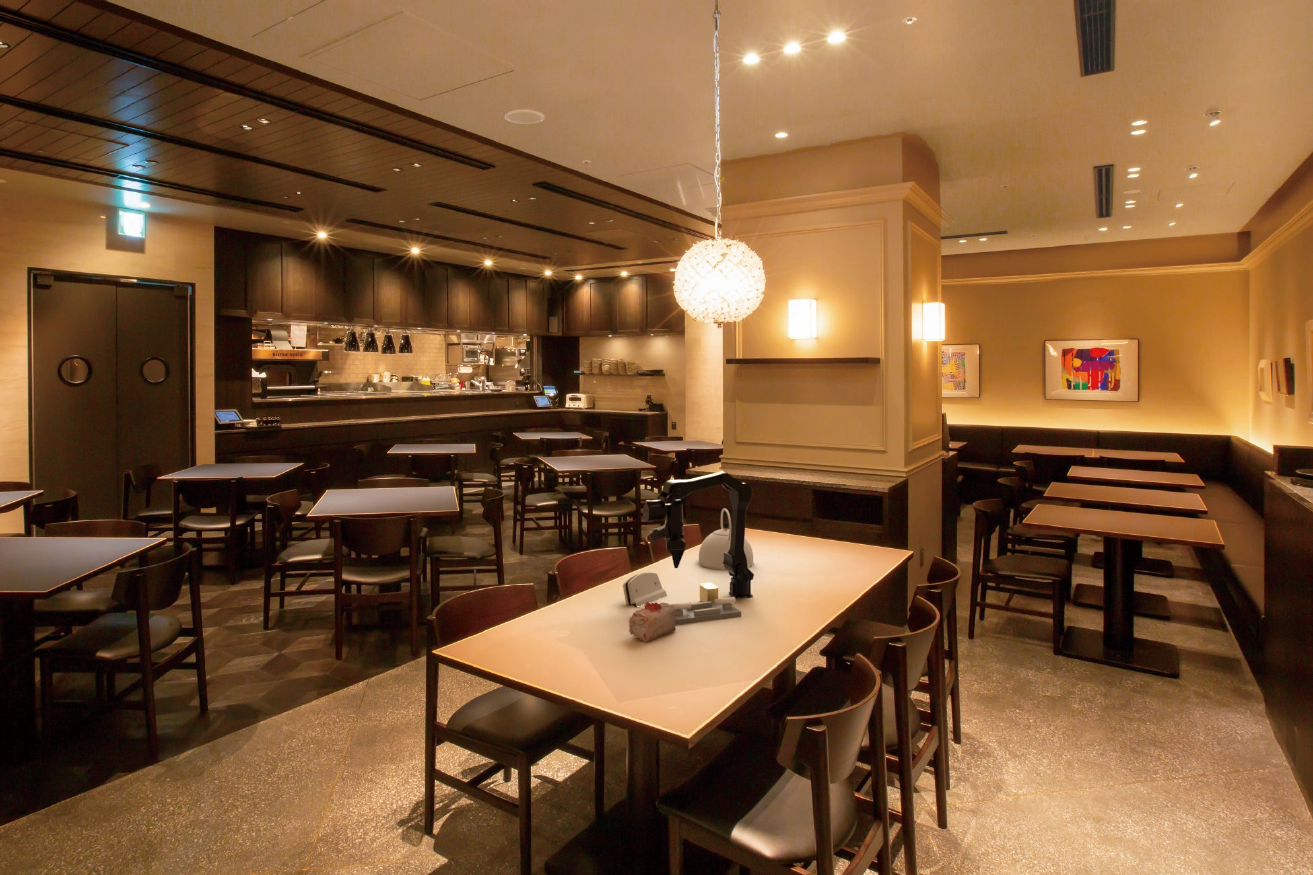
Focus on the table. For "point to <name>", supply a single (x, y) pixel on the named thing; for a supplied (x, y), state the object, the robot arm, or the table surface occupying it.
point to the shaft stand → (705, 611)
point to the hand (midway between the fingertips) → (675, 564)
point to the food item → (652, 621)
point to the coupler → (708, 592)
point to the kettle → (720, 547)
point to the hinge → (643, 589)
